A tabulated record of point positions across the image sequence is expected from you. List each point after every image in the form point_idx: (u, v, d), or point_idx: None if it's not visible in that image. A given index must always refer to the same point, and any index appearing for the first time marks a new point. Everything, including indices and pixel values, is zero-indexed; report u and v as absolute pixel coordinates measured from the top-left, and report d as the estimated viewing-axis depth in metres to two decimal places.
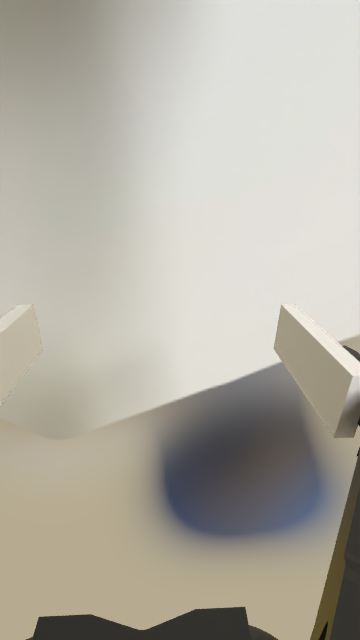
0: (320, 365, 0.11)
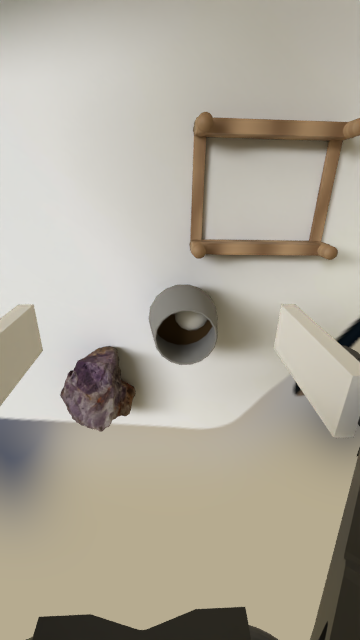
0: (321, 364, 0.11)
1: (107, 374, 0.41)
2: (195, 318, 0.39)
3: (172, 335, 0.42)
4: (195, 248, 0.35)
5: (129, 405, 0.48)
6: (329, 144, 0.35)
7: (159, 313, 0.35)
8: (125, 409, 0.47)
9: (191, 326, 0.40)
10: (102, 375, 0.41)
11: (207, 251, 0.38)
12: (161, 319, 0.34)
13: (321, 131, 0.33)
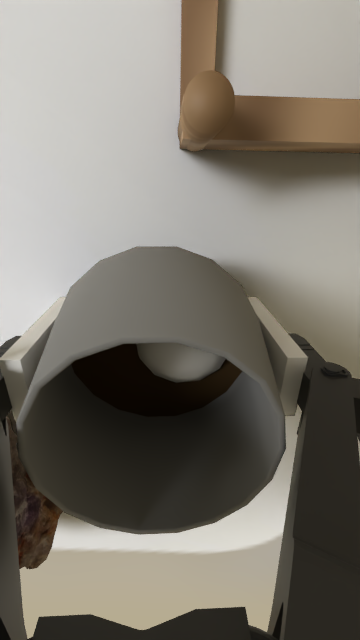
0: (268, 350, 0.12)
1: None
2: (196, 353, 0.12)
3: (132, 394, 0.15)
4: (194, 85, 0.09)
5: (48, 538, 0.21)
6: None
7: (48, 346, 0.09)
8: (35, 552, 0.20)
9: (182, 375, 0.13)
10: None
11: (235, 128, 0.11)
12: (36, 380, 0.07)
13: None
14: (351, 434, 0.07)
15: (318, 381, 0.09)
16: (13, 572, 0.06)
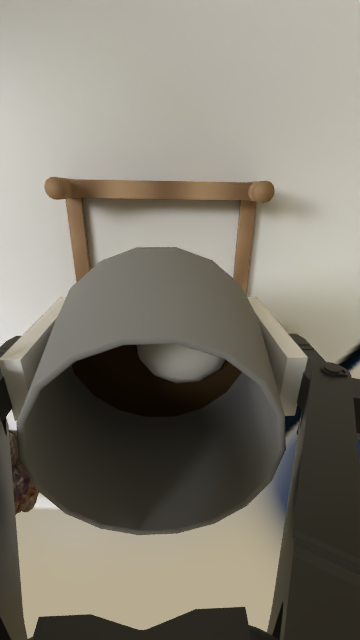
0: (268, 350, 0.12)
1: None
2: (196, 354, 0.12)
3: (132, 394, 0.15)
4: None
5: (34, 497, 0.40)
6: (240, 204, 0.28)
7: None
8: (27, 504, 0.39)
9: (182, 375, 0.13)
10: None
11: None
12: (36, 382, 0.07)
13: (219, 194, 0.25)
14: (351, 434, 0.07)
15: (318, 381, 0.09)
16: (13, 572, 0.06)
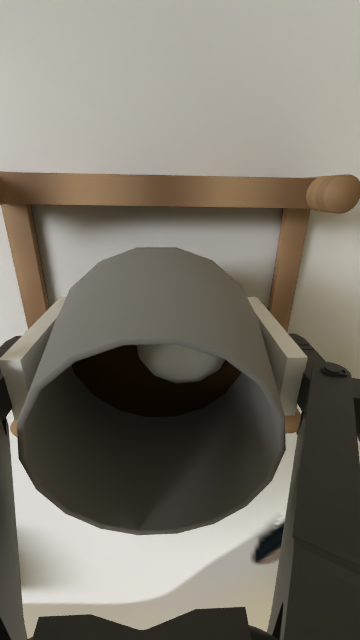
0: (268, 350, 0.12)
1: None
2: (196, 354, 0.12)
3: (132, 394, 0.15)
4: (14, 424, 0.18)
5: None
6: (284, 213, 0.18)
7: None
8: None
9: (182, 375, 0.13)
10: None
11: None
12: (36, 382, 0.07)
13: (257, 198, 0.15)
14: (351, 434, 0.07)
15: (318, 381, 0.09)
16: (13, 572, 0.06)
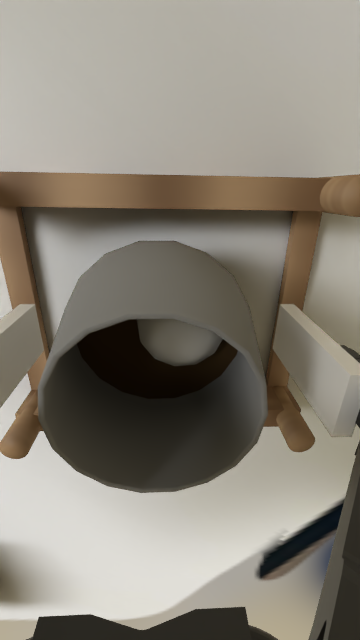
0: (319, 364, 0.12)
1: None
2: (193, 338, 0.14)
3: (134, 377, 0.16)
4: (3, 443, 0.16)
5: None
6: (294, 216, 0.16)
7: None
8: None
9: (180, 358, 0.14)
10: None
11: None
12: (55, 352, 0.09)
13: (266, 200, 0.14)
14: None
15: None
16: None
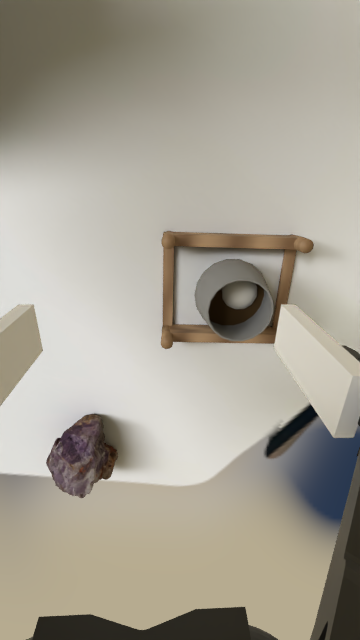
0: (321, 364, 0.11)
1: (89, 446, 0.44)
2: (245, 295, 0.37)
3: (217, 314, 0.40)
4: (163, 340, 0.39)
5: (111, 468, 0.51)
6: (285, 249, 0.40)
7: (211, 285, 0.33)
8: (107, 473, 0.50)
9: (240, 303, 0.37)
10: (85, 448, 0.44)
11: (176, 339, 0.41)
12: (215, 290, 0.32)
13: (274, 245, 0.37)
14: None
15: None
16: None
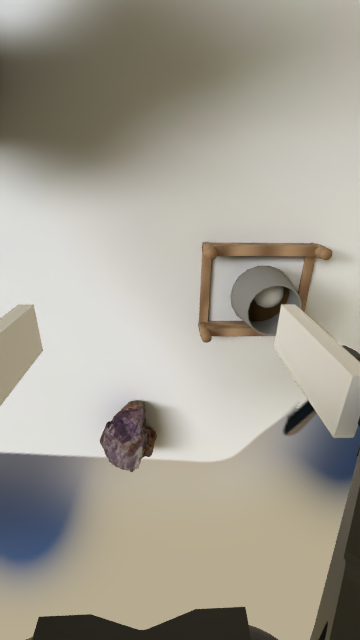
0: (320, 364, 0.11)
1: (138, 427, 0.52)
2: (274, 296, 0.44)
3: (249, 312, 0.46)
4: (203, 335, 0.46)
5: (152, 447, 0.58)
6: (306, 255, 0.46)
7: (249, 289, 0.40)
8: (149, 451, 0.58)
9: (269, 303, 0.44)
10: (134, 429, 0.51)
11: (212, 334, 0.48)
12: (254, 294, 0.39)
13: (298, 253, 0.43)
14: None
15: None
16: None
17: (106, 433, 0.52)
